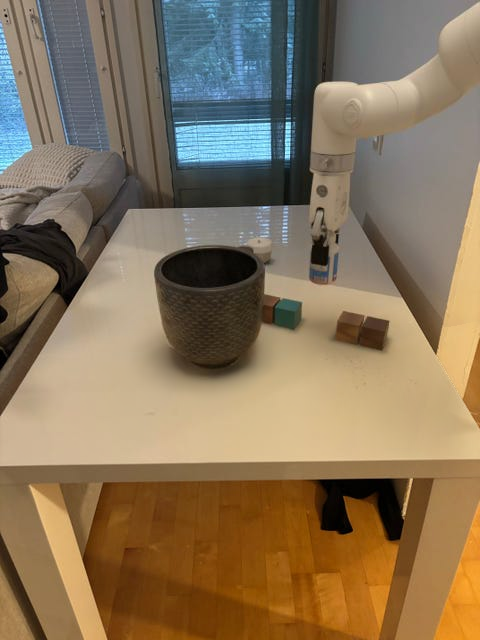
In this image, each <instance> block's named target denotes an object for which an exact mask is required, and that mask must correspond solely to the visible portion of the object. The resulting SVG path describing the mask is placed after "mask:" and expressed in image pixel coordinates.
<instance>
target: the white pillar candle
mask: <svg viewBox="0 0 480 640" xmlns="http://www.w3.org/2000/svg"><path fill="white" fill-rule="evenodd" d="M245 246H248V247H251V248H253V250H254V254H256V255H257V256H259V257H260V258H261V259H262V261H263V263H264V264H266V263H268V262H269V260H270V258H271V256H272V253H273V249H274V244H273V241H272V240H270V239H269V238H267V237H253V238H250V239H247V241H246V245H245Z"/></svg>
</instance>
